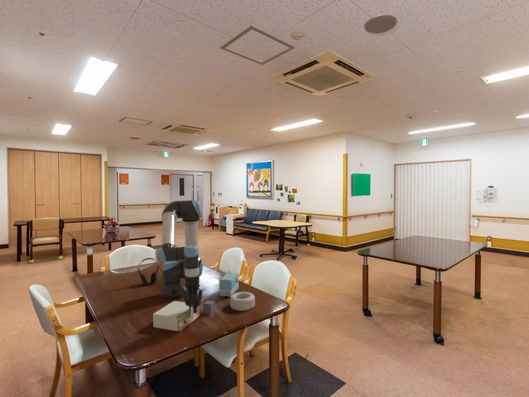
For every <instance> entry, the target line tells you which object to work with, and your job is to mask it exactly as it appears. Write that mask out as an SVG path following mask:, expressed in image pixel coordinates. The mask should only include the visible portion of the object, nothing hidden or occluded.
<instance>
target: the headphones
mask: <svg viewBox="0 0 529 397" xmlns="http://www.w3.org/2000/svg"><path fill="white" fill-rule="evenodd" d="M147 260H153V261H155V262H156V264H157V266H156V267H157V268H156V271H153V272H152V273H151V276H150V283H151V284H155V283H156V282H157V280H158V270H159V262H158V261H157V259H155V258H152V257H146V258H144V259H143V260H141V262H140V263H139V264H138V267H137V271H138V275H139V280H140V282H141V283H142V285H144V286H147V285H148V279H147V277H146V276H145V274H144V273H141V271H140V265H141V264H142V263H143V262H145V261H147Z"/></svg>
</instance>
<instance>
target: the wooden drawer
mask: <svg viewBox="0 0 529 397" xmlns="http://www.w3.org/2000/svg"><path fill="white" fill-rule="evenodd" d="M199 317H200V305H199V306H198V307H197V313H196V318H195V319H194V320H191V313H190V312H189V311H186V312H185V314H183V315H182V316H181V317H179V318H178V331H177V332H182V330H184V329H185V328H186V327H187V326H189V325H190V324H191V323H193V321H195V320H196V319H198V318H199Z"/></svg>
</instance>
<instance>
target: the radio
mask: <svg viewBox="0 0 529 397" xmlns="http://www.w3.org/2000/svg"><path fill="white" fill-rule="evenodd" d="M218 282H219V283H218V284H219V296H220V297H225V296H227V297H228V298H229V297H231V296H232V295H233V294H235V293H237V291H238V290H239V273H238V272H227V273H225V274H224V275H222V277H221V278H220V279H219V281H218Z"/></svg>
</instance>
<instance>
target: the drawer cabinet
mask: <svg viewBox="0 0 529 397" xmlns="http://www.w3.org/2000/svg"><path fill="white" fill-rule="evenodd" d="M186 311H189V306H186V304H185V301H177V300H174V301H172V302H170V303H168V304H167V305H165V306H164V307H162V308H160V309H159V310H157V311H155V312H154V313H153V314H152V319H153V320H152V322H153V328H157V329H164V330H168V331H175V332H179V331H178V317H179V316H180V315H182V314H183V313H185V312H186Z"/></svg>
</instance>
